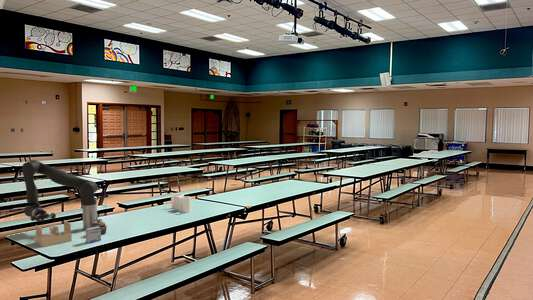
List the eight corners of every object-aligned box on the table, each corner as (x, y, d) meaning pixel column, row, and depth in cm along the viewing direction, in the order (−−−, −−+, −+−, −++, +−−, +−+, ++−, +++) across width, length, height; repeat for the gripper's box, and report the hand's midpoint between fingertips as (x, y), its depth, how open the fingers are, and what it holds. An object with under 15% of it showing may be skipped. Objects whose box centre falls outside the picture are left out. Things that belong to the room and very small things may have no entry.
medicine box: (88, 243, 245) (88, 229, 244) (85, 242, 248) (85, 228, 247) (101, 240, 251) (100, 227, 250) (98, 239, 254) (97, 226, 253)
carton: (59, 233, 268) (58, 217, 268) (71, 241, 250) (71, 223, 250) (31, 238, 257) (30, 221, 256) (42, 246, 239) (41, 229, 238)
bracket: (193, 211, 330) (193, 197, 329) (182, 213, 324) (182, 198, 324) (181, 206, 350) (180, 193, 349) (170, 208, 345) (170, 194, 344)
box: (56, 240, 252) (55, 225, 251) (59, 242, 248) (58, 226, 247) (50, 241, 249) (49, 226, 248) (52, 243, 245) (52, 227, 245)
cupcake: (93, 237, 259) (92, 221, 258) (90, 233, 267) (89, 219, 266) (108, 234, 265) (108, 219, 264) (105, 231, 272) (104, 217, 272)
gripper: (27, 210, 265) (33, 214, 253) (50, 207, 275) (57, 211, 263) (27, 221, 265) (34, 226, 254) (50, 218, 275) (58, 222, 264)
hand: (46, 218), depth 258 cm, fingers open, 8 cm apart
